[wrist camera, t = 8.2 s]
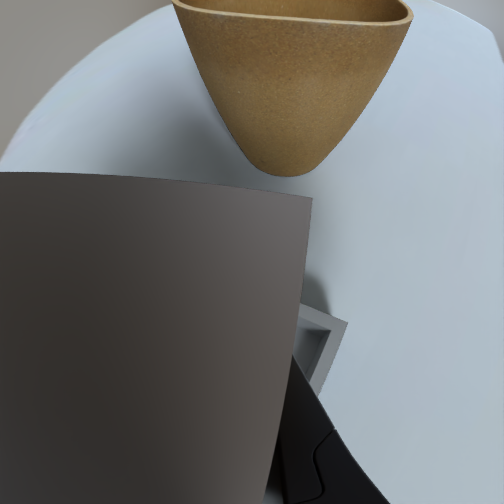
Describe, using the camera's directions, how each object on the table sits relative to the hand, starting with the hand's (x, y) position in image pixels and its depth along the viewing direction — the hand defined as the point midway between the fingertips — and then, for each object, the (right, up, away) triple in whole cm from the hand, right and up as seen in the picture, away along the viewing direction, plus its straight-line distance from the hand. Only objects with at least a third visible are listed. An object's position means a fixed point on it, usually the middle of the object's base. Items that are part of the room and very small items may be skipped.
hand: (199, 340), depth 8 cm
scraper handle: (0, -4, +5) cm, 7 cm away
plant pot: (+4, +12, +19) cm, 23 cm away
